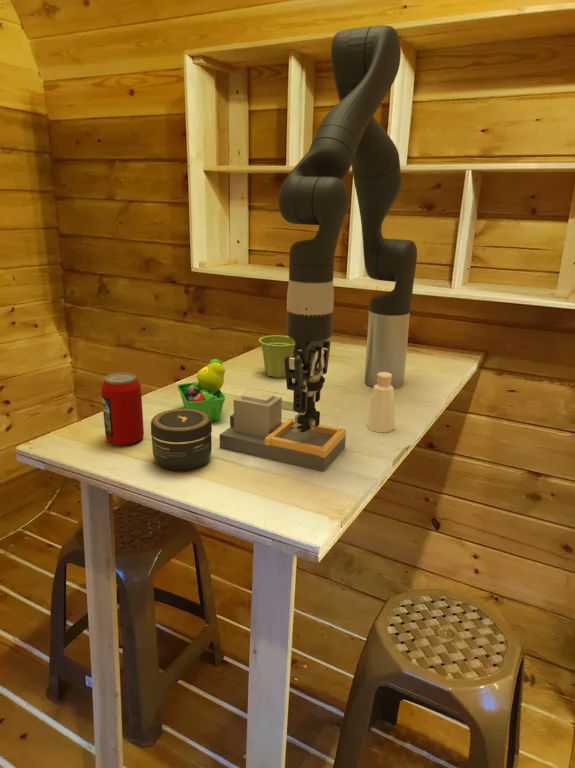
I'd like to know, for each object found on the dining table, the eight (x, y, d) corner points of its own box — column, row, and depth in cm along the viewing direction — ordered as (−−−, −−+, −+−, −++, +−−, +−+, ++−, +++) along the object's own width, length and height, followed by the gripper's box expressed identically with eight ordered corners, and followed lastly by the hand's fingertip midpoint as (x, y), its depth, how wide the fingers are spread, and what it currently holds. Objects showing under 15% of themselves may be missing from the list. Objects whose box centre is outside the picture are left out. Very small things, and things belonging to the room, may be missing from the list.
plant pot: (290, 367, 149) (290, 334, 147) (302, 378, 141) (303, 343, 138) (254, 370, 147) (254, 336, 144) (265, 382, 138) (265, 346, 135)
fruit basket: (177, 407, 122) (174, 355, 119) (218, 402, 125) (217, 351, 122) (188, 427, 112) (186, 371, 109) (233, 421, 115) (232, 367, 112)
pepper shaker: (393, 434, 111) (397, 379, 107) (364, 431, 112) (368, 376, 109) (396, 423, 116) (400, 370, 112) (368, 420, 117) (372, 368, 114)
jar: (185, 442, 106) (184, 403, 104) (224, 459, 100) (224, 417, 98) (140, 461, 99) (137, 419, 96) (179, 480, 93) (177, 436, 90)
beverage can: (112, 431, 110) (107, 370, 106) (148, 432, 110) (144, 371, 106) (100, 447, 104) (94, 383, 100) (138, 448, 104) (133, 384, 100)
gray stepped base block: (246, 427, 113) (245, 382, 110) (345, 448, 105) (347, 400, 102) (218, 447, 104) (217, 399, 101) (324, 471, 96) (326, 420, 93)
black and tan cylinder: (305, 439, 97) (309, 382, 93) (279, 430, 100) (282, 374, 96) (327, 427, 102) (331, 372, 98) (301, 419, 105) (305, 365, 101)
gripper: (314, 319, 87) (310, 424, 92) (347, 302, 99) (342, 396, 105) (269, 313, 90) (268, 416, 95) (306, 298, 102) (303, 390, 108)
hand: (307, 405), depth 100 cm, fingers closed on black and tan cylinder, 5 cm apart
